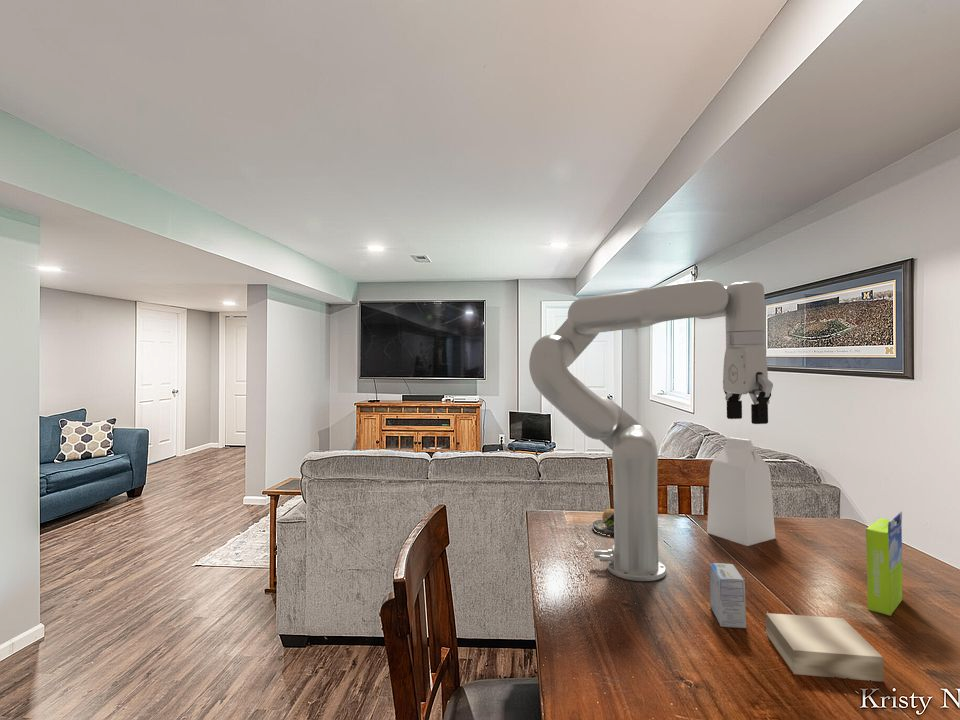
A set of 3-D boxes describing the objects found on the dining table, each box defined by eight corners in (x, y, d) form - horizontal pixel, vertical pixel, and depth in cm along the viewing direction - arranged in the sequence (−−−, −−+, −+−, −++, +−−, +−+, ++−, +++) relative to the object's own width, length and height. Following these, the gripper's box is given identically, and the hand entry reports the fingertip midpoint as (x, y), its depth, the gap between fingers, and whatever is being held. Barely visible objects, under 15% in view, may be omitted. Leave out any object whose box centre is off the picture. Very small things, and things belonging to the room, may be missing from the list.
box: (879, 593, 107) (878, 507, 107) (905, 599, 104) (903, 511, 104) (865, 610, 100) (864, 517, 100) (892, 617, 97) (891, 522, 97)
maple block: (794, 676, 80) (793, 650, 80) (766, 636, 92) (765, 613, 92) (883, 684, 78) (883, 657, 78) (843, 641, 90) (842, 618, 90)
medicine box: (746, 629, 93) (746, 580, 93) (719, 627, 94) (718, 578, 94) (734, 609, 101) (733, 563, 101) (709, 607, 102) (708, 561, 102)
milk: (707, 532, 146) (705, 437, 146) (734, 526, 151) (733, 434, 151) (747, 546, 135) (745, 443, 135) (775, 538, 140) (773, 439, 141)
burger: (612, 540, 141) (612, 512, 141) (583, 529, 151) (583, 502, 151) (645, 533, 147) (645, 506, 147) (615, 522, 157) (615, 497, 157)
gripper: (708, 342, 122) (709, 417, 122) (750, 339, 105) (752, 426, 104) (740, 342, 122) (741, 416, 122) (787, 338, 105) (789, 425, 105)
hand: (746, 421), depth 113 cm, fingers open, 9 cm apart
